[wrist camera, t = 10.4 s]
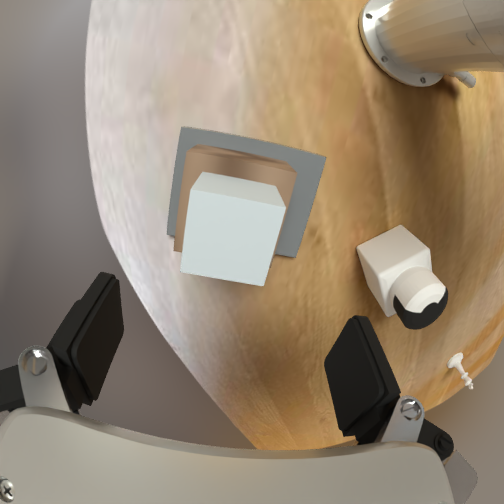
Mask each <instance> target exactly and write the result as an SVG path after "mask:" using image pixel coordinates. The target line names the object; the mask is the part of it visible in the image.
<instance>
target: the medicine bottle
mask: <svg viewBox="0 0 504 504" xmlns="http://www.w3.org/2000/svg"><path fill="white" fill-rule="evenodd" d="M356 249H357V252H358V256H359V259H360V262H361V265H362V268H363V271H364V275H365V278H366V282H367V285H368V287H369V289H370V290H371V292H372V293H373V295H374V297H375V298H376V300H377V301H378V303H379V305H380V306H381V308H382V310H383V311H384V313H385V315H386V316H387V317H390V316H392V315H394V314H396V313H397V314H398V316H399V318H400V319H401V321H402V322H403V324H404V325H405V327H407V328H409V329H422V328H424V327H426V326H428V325H430V324H431V323H433V322H434V321H435V320H436V319H437V318H438V317H439V316H440V315H441V313H442V312H443V310H444V309H445V307H446V304H447V300H448V291H447V288H446V287H445V286H444V285H443V283H442V282H441V281H440V280H439V279H438V278H437V277H436V276H435V275H434V274H433V273H432V265H431V255H430V249H429V248H428V247H427V246H426V245H425V244H424V243H423V242H421V241H420V240H419V239H418V238H417V237H416V236H415V235H413V234H412V233H411V232H410V231H409V230H408V229H406V228H405V227H404V226H403V225H398V226H396V227H394V228H392V229H390V230H388V231H386V232H384V233H382V234H380V235H378V236H376V237H374V238H372V239H370V240H368V241H366V242H364V243H362V244H360V245H358V246H357V247H356Z"/></svg>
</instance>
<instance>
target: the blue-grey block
mask: <svg viewBox="0 0 504 504" xmlns="http://www.w3.org/2000/svg"><path fill="white" fill-rule="evenodd" d="M285 210H286V206H285V204H284V202H283V200H282V198H281V196H280V194H279V192H278V190H277V187H276V186H274V185H269V184H264V183H260V182H255V181H250V180H245V179H240V178H235V177H230V176H224V175H219V174H213V173H207V172H202V173H201V174H200V176H199V177H198V179H197V180H196V182H195V183H194V185H193V186H192V188H191V190H190V196H189V203H188V210H187V217H186V225H185V233H184V241H183V250H182V259H181V268H180V272H183V273H189V274H194V275H200V276H206V277H211V278H217V279H223V280H229V281H235V282H241V283H247V284H253V285H259V286H264V283H265V279H266V276H267V273H268V269H269V266H270V262H271V259H272V256H273V252H274V249H275V245H276V242H277V238H278V235H279V231H280V228H281V224H282V221H283V217H284V214H285Z"/></svg>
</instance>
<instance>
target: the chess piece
mask: <svg viewBox="0 0 504 504" xmlns="http://www.w3.org/2000/svg"><path fill="white" fill-rule="evenodd" d="M462 359H463V354H462V353H461V352H460V353H457V354H456V355H454V356H453V357H452V358H451V359H450V360H449V361H448V363H447V366H448V368H453V367H456V368H457V370H458V371H459V372H460V373H461V375H462V376H461V379H464V382H465V385H469V389H473V387H472V385H473V384H471V381H472V379H470V378H469V377H468V376H467V375H468V372H466V373H465V372H464V369H463V367H462V365H461V360H462Z"/></svg>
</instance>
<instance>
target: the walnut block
mask: <svg viewBox="0 0 504 504" xmlns="http://www.w3.org/2000/svg"><path fill="white" fill-rule="evenodd" d="M202 172H207V173H213V174H219V175H224V176H230V177H235V178H240V179H245V180H250V181H255V182H260V183H264V184H269V185H274V186H276V187H277V190H278V192H279V194H280V196H281V198H282V200H283V202H284V204H285V206H286V210H285V214H284V217H283V221H282V224H281V228H280V231H279V235H278V238H277V242H276V245H275V249H274V252H273V256H272V259H271V262H270V266H269V268H271V265H272V262H273V258H274V255H275V251H276V248H277V245H278V241H279V238H280V234H281V231H282V227H283V224H284V220H285V216H286V213H287V209H288V206H289V202H290V199H291V195H292V191H293V188H294V184H295V180H296V177H297V172H296V171H295V170H294V169H293V168H292V167H291V166H290V165H289V164H288V163H287V162H286V161H283V160H278V159H274V158H270V157H265V156H261V155H256V154H251V153H246V152H241V151H236V150H231V149H225V148H220V147H214V146H208V145H202V144H197V145H195V146H194V147H192V148H191V149H189V150H188V151H187V152H186V158H185V164H184V170H183V177H182V184H181V191H180V198H179V206H178V214H177V222H176V231H175V241H174V251H177V252H182V250H183V241H184V233H185V225H186V217H187V210H188V203H189V196H190V190H191V188H192V186H193V185H194V183H195V182H196V180H197V179H198V177H199V176H200V174H201V173H202Z"/></svg>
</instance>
